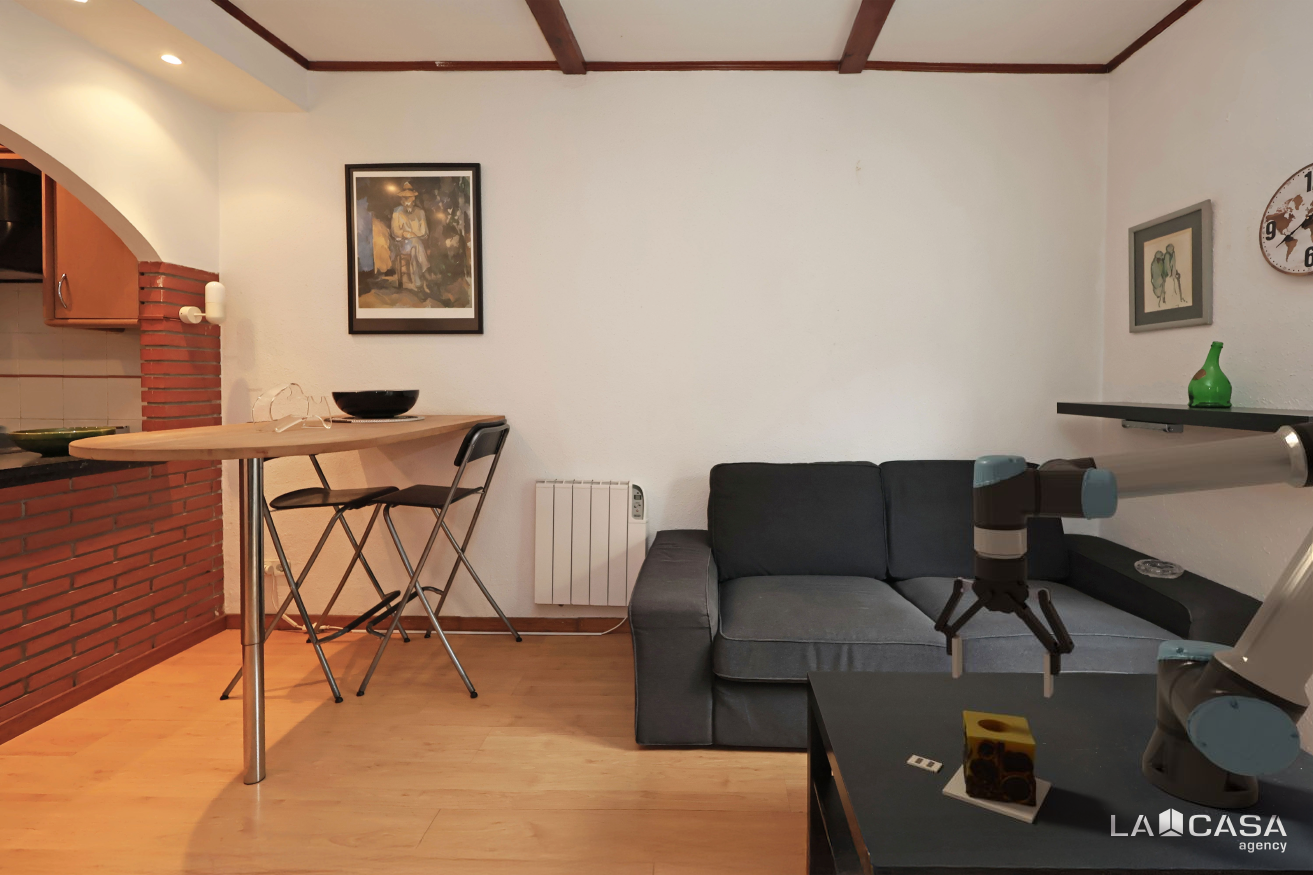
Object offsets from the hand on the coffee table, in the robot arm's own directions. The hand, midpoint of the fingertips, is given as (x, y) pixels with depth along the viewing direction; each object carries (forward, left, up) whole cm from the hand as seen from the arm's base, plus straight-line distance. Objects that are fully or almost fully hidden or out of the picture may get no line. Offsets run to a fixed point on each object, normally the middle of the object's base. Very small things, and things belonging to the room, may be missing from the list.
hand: (1001, 684), depth 117 cm
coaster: (0, 0, -18) cm, 18 cm away
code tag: (+12, -1, -18) cm, 22 cm away
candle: (0, 0, -17) cm, 17 cm away
